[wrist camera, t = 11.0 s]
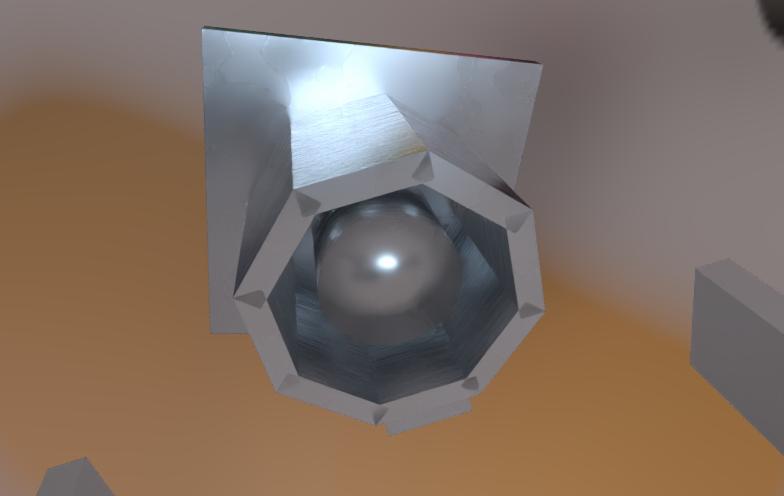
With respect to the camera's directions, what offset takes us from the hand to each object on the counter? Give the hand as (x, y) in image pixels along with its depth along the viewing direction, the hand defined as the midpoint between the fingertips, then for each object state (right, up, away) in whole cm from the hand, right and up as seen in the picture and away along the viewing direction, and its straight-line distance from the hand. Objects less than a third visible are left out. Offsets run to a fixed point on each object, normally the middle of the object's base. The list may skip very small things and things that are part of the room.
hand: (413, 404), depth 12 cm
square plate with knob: (-2, +5, +11) cm, 12 cm away
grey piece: (-1, +4, +11) cm, 11 cm away
